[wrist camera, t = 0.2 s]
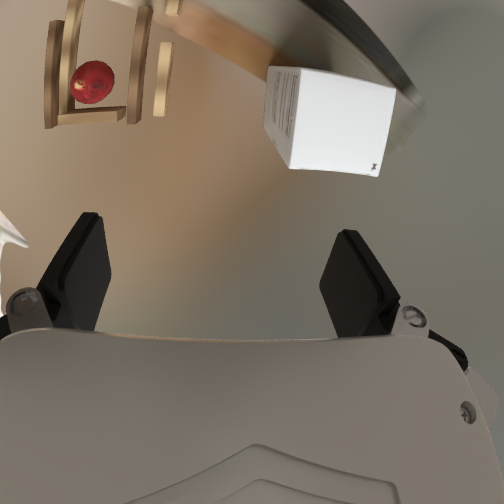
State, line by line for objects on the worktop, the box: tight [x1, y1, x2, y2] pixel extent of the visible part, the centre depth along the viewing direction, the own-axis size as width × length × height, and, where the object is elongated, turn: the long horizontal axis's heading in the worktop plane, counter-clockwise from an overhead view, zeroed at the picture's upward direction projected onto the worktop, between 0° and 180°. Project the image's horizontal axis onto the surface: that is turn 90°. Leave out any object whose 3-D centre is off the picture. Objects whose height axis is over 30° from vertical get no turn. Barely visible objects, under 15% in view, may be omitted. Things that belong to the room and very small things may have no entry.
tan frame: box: [58, 0, 126, 125], centre depth 23 cm, size 22×10×7 cm, turn 171°
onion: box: [70, 61, 114, 104], centre depth 27 cm, size 6×6×8 cm
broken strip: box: [153, 0, 182, 116], centre depth 27 cm, size 21×1×2 cm, turn 171°
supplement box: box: [263, 66, 396, 177], centre depth 29 cm, size 10×9×17 cm
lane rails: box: [44, 6, 153, 129], centre depth 27 cm, size 16×14×3 cm
